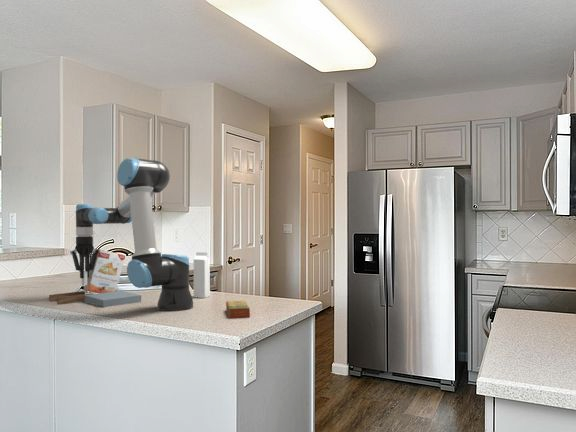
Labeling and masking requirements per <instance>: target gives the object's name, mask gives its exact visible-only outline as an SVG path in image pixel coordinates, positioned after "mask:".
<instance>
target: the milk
mask: <svg viewBox="0 0 576 432" xmlns="http://www.w3.org/2000/svg"><path fill="white" fill-rule="evenodd" d="M210 263H211V259H210V257H209V256H208V252H207V251H206V252H201V251H200V252H198V251H197V252H195V256H194V258H193V298H194V297H196V298H195V299H206V298H205V297H207V298H208V296H209V297H210V293H211V292H210V291H211V285H210V284H211V281H210V279H211V275H210V273H211V270H210V269H211V268H210V267H211V264H210ZM197 297H198V298H197Z"/></svg>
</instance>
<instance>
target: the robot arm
mask: <svg viewBox="0 0 576 432" xmlns="http://www.w3.org/2000/svg"><path fill="white" fill-rule="evenodd" d="M170 174H171V173H170V170H169V168H168V167H167V166H166V164H165V163H163V162H161V161H158V160H152V159H144V158H138V157H134V158H132V157H128V158H125V159H123V160H122V161H121V163H120V164H119V166H118V169H117V173H116V176H117V182H118V184H119V185H120V186H122V187H123V188H124V192H125V193H126V194H127V195H128V196H127V197H126V198H125V199H124V200H123V201H122V202H121V203H120V204H119V205H118V206H116V207H93V204H91V203H78V204H76V206H75V236H76V237H75V247H74V249H73V250H70V252H69V253H70V254H71V255H70V256H72V261H73V263H74V267H75V271H78V272H79V277H80V279H81V285H82V286H85V285H87V278H89V271H90V270H92V269H93V267H94V263H95V259H96V255H97V253H98V250H96V249H97V248H95V247H94V237H93V235H94V227H93V226H94V225H102V224H109V225H110V224H120V225H121V224H122V225H124V224H130V223H131V226H132V228H131V229H132V234H133V245H134V253H133V254H132V255H131V260H130V261H129V262H128V263H127V267H126V274H127V278H128V280H129V282H130V283H131V284H132V285H133V286H134V287H135V288H137V289H143V288H145V289H147V288H152V287H159V286H161V292H160V295H159V298H158V301H157V308H156V309H158V310H160V311H166V312H167V311H171V312H173V311H175V312H176V311H184V310H190V309H192V308H193V307H194V301H193V296H192V293H191V291H190V265H191V264H190V260H189V259H190V258H189V257H188V256H187V255H180V254H171V253H169V254H167V253H161V252H160V251H159V250H158V249H157V241H156V231H155V225H154V224H155V223H154V214H153V213H154V212H153V207H152V198H153V196H155V195H156V194H159V193H161V192H162V191H163V190H164V189H166V187H167V186H168V184H169V181H170V177H171V176H170ZM77 253H78V255H77ZM78 257H79V258H78Z"/></svg>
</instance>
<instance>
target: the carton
mask: <svg viewBox="0 0 576 432" xmlns="http://www.w3.org/2000/svg"><path fill="white" fill-rule="evenodd" d="M225 306H226V313H227V316H228V319H245V318H246V317H248V318H250V317H251V311H250V306H249V305H248V303H247V302H246V300H235V301H234V300H231V301H230V300H229V301H225Z"/></svg>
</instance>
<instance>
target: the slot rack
mask: <svg viewBox="0 0 576 432" xmlns="http://www.w3.org/2000/svg"><path fill="white" fill-rule="evenodd" d="M90 294H94V292H89V293H86V291H85V290H81V291H73V292H65V293H64V292H63V293H56V294H49V295H48V298H49V302H50V303H51V302H56V304H57V305H65V304H73V303H79V302H84V295H90Z"/></svg>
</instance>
